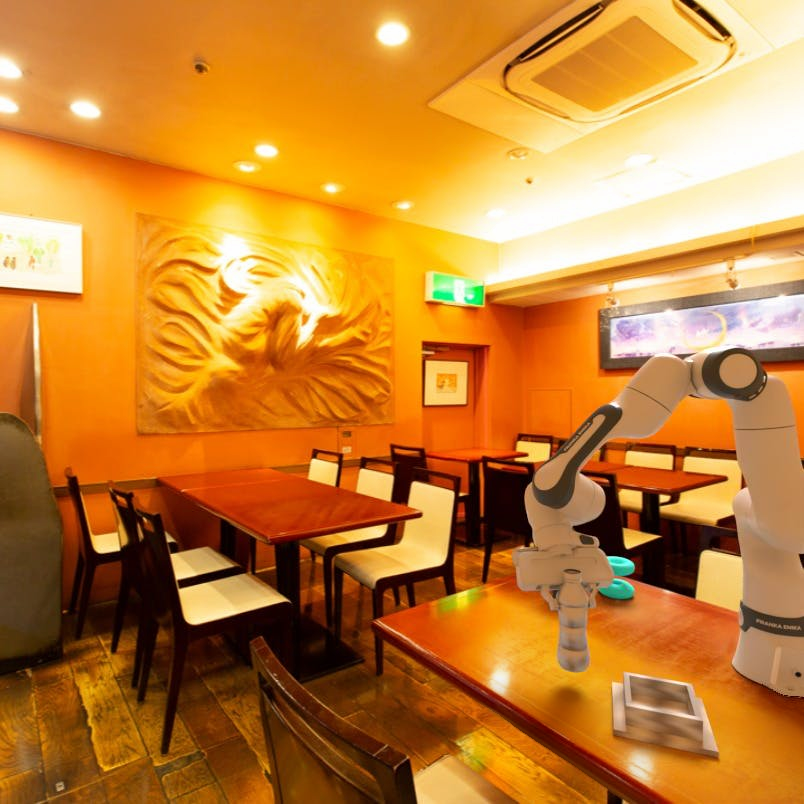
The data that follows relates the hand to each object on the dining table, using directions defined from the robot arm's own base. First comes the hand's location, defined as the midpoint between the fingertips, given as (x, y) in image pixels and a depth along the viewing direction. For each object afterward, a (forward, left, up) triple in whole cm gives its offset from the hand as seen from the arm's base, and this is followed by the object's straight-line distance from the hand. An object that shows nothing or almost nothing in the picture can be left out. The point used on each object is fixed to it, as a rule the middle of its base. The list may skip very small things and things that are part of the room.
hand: (573, 608), depth 107 cm
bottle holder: (-15, +5, -16) cm, 23 cm away
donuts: (-9, -56, -16) cm, 59 cm away
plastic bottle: (0, -1, -13) cm, 13 cm away
